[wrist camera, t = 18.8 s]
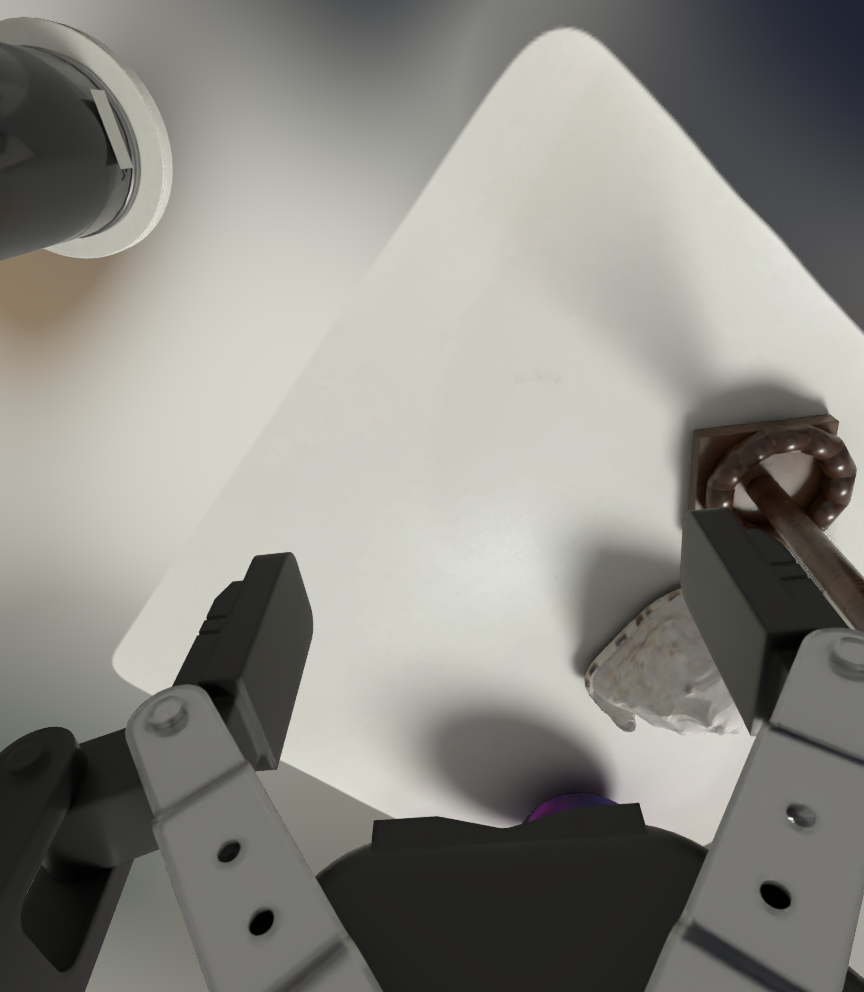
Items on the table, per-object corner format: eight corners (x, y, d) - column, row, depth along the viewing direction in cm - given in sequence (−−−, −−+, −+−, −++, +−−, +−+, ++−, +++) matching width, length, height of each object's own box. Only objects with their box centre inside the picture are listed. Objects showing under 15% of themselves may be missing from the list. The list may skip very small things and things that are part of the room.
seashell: (569, 682, 56) (590, 783, 48) (655, 565, 50) (697, 658, 41) (687, 721, 59) (728, 824, 50) (784, 614, 52) (851, 711, 43)
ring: (697, 547, 47) (706, 561, 46) (706, 430, 43) (716, 441, 41) (833, 533, 46) (846, 547, 45) (857, 412, 42) (873, 423, 40)
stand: (686, 537, 48) (790, 720, 34) (693, 429, 44) (817, 585, 29) (810, 524, 48) (973, 706, 33) (830, 413, 43) (1029, 566, 28)
